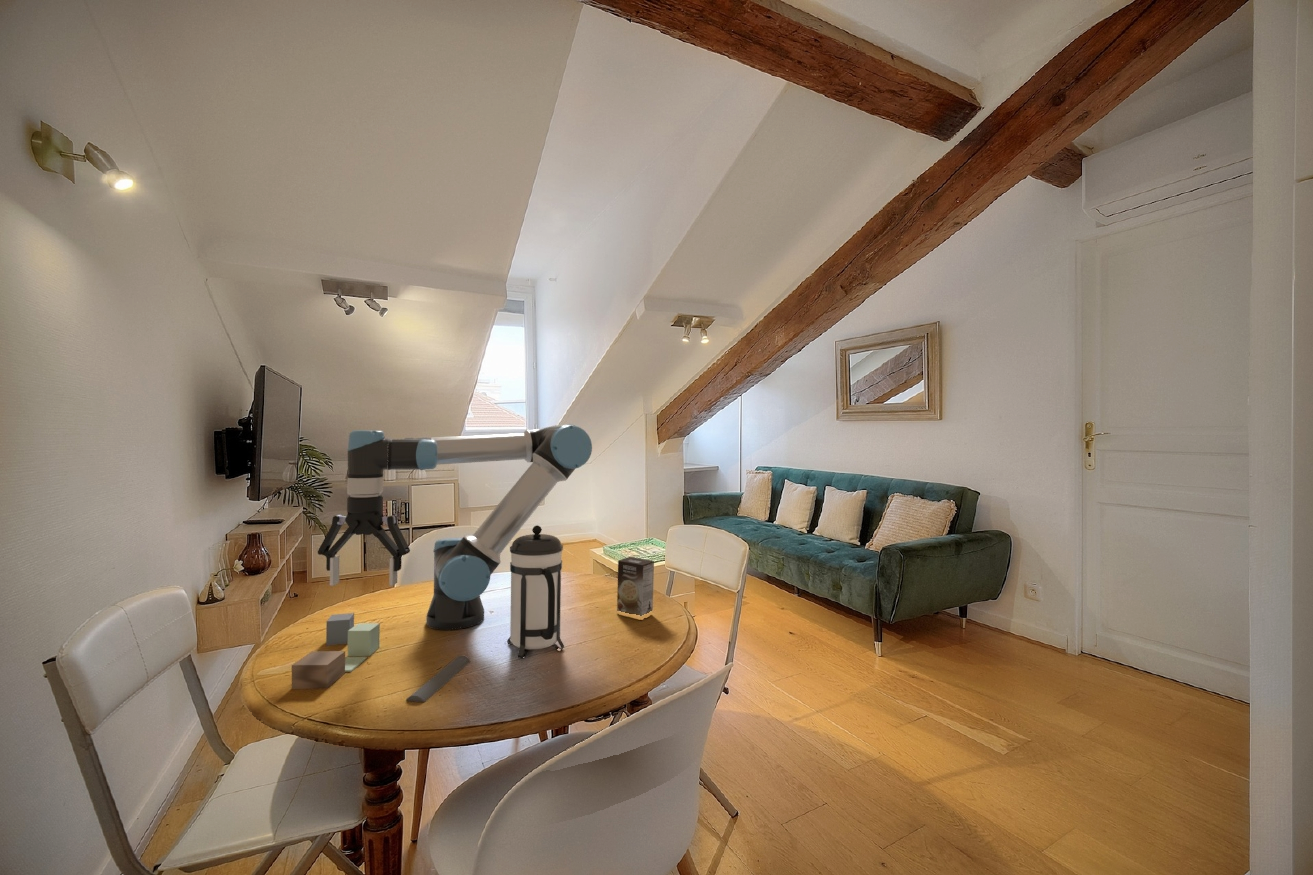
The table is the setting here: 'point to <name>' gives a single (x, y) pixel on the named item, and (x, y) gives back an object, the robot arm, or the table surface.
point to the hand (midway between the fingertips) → (363, 584)
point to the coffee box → (635, 586)
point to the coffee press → (535, 592)
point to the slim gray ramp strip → (439, 679)
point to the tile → (353, 663)
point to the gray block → (339, 628)
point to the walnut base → (318, 670)
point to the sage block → (363, 639)
